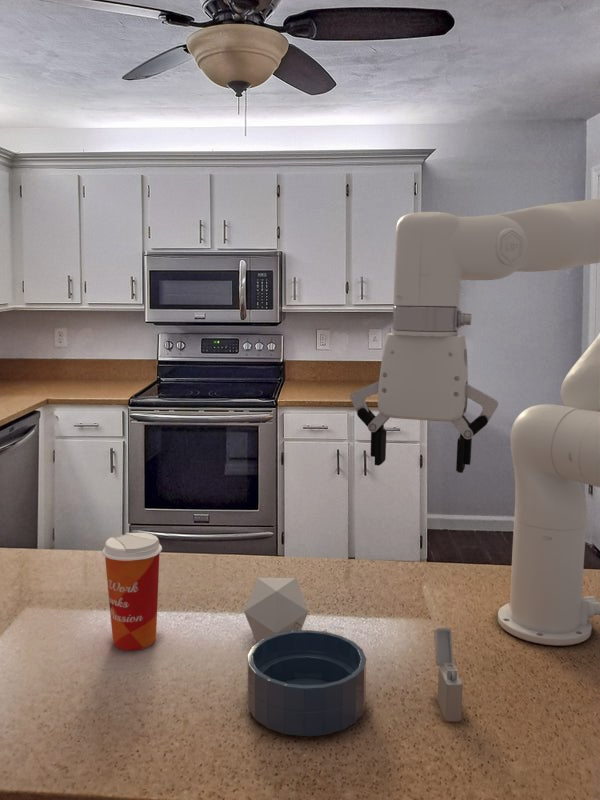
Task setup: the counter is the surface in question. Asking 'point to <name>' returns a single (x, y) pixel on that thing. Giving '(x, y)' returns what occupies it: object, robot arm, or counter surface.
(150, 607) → the paper cup
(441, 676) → the lighter
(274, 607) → the grey polyhedron
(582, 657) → the counter surface
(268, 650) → the bowl
